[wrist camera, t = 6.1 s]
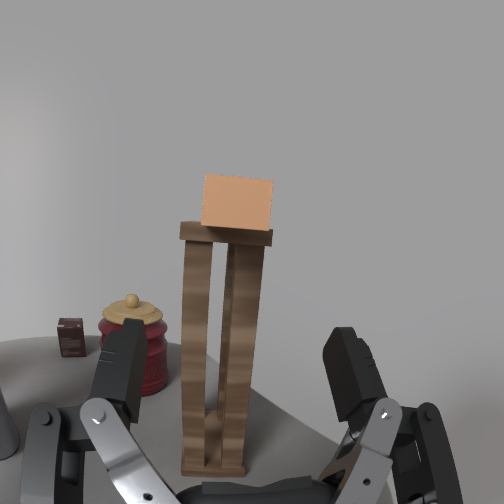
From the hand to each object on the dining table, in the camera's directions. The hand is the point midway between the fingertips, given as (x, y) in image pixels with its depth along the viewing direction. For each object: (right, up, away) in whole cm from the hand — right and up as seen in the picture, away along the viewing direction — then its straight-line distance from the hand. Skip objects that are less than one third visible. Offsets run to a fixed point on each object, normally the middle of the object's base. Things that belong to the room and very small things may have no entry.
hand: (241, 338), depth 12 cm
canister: (-22, -22, +37) cm, 48 cm away
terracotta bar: (-2, +6, +15) cm, 16 cm away
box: (-40, -19, +42) cm, 61 cm away
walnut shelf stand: (-5, -24, +23) cm, 34 cm away
